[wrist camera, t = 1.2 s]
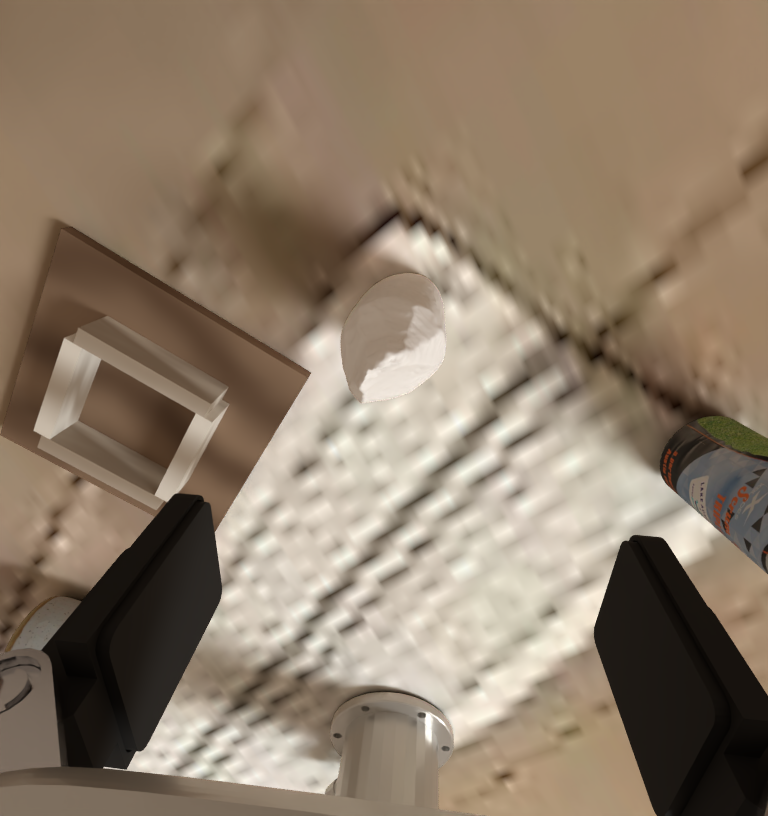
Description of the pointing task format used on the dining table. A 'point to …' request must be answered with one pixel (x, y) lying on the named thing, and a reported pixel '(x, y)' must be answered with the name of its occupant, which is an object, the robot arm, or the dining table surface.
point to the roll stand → (143, 384)
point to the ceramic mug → (42, 623)
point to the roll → (393, 338)
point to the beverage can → (723, 479)
